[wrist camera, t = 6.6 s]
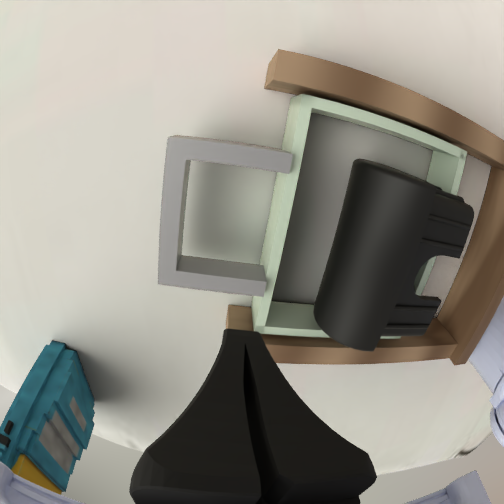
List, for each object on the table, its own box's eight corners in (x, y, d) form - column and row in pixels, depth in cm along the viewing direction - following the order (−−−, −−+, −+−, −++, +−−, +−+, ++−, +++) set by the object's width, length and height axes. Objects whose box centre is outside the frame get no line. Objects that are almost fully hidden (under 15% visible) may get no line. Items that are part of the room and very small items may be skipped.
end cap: (336, 151, 18) (385, 170, 12) (423, 176, 19) (486, 204, 12) (301, 289, 22) (325, 353, 16) (383, 296, 23) (422, 351, 16)
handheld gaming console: (45, 336, 22) (-23, 462, 9) (80, 343, 23) (18, 485, 9) (71, 399, 26) (33, 507, 13) (103, 407, 27) (71, 523, 13)
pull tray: (440, 145, 17) (472, 153, 14) (385, 315, 23) (402, 342, 20) (188, 83, 15) (177, 74, 12) (167, 296, 21) (158, 326, 18)
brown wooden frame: (504, 154, 18) (545, 168, 13) (440, 331, 25) (465, 363, 20) (268, 64, 15) (281, 44, 11) (225, 322, 22) (225, 370, 18)
